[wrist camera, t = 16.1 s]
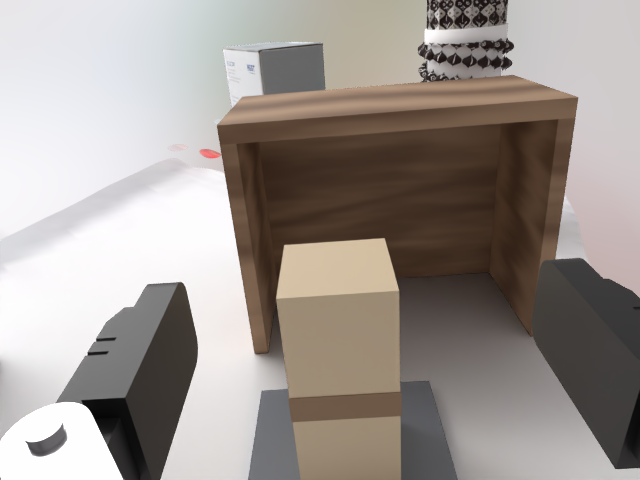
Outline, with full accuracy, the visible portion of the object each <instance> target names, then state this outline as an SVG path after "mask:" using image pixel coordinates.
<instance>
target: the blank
mask: <svg viewBox="0 0 640 480" xmlns="http://www.w3.org/2000/svg"><path fill="white" fill-rule="evenodd" d="M276 302H277V310H278V317H279V324H280V332H281V339H282V347H283V354H284V361H285V369H286V376H287V384H288V391H289V397H288V401H289V408H290V415H291V422H293V428H294V436H295V443H296V450H297V458H298V465H299V473H300V480H401V420H400V416H402V393H401V388H400V315H399V288H398V284H397V281H396V277H395V274H394V270H393V266H392V263H391V259H390V256H389V252H388V249H387V245H386V241H385V238H381V239H366V240H352V241H337V242H323V243H308V244H294V245H284V250H283V257H282V263H281V270H280V276H279V283H278V289H277V296H276Z"/></svg>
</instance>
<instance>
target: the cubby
mask: <svg viewBox="0 0 640 480" xmlns="http://www.w3.org/2000/svg"><path fill="white" fill-rule="evenodd" d="M577 102H578V97H576V96H573V95H570V94H567V93H564V92H561V91H558V90H555V89H552V88H550V87H547V86H544V85H541V84H538V83H535V82H532V81H529V80H526V79H523V78H520V77H517V76H514V75H509V76H495V77H483V78H470V79H458V80H445V81H433V82H420V83H408V84H395V85H382V86H370V87H357V88H345V89H332V90H320V91H307V92H295V93H282V94H269V95H257V96H244V97H242V98H241V99H240V100H239V101H238V102H237V103H236V104H235V106H234V107H233V108H232V109H231V110H230V111H229V112H228V114H227V115H226V116H225V117H224V118H223V119H222V120H221V121H220V123H219V124H218V125H217V129H218V135H219V141H220V147H221V153H222V159H223V165H224V171H225V177H226V183H227V189H228V196H229V202H230V208H231V214H232V220H233V226H234V232H235V238H236V244H237V250H238V256H239V262H240V268H241V274H242V280H243V286H244V292H245V298H246V304H247V310H248V316H249V322H250V328H251V334H252V340H253V346H254V352H255V353H268V349H269V342H270V335H271V329H272V322H273V316H274V309H275V302H276V296H277V289H278V283H279V276H280V270H281V263H282V257H283V250H284V245H294V244H308V243H323V242H337V241H352V240H366V239H381V238H385V241H386V245H387V249H388V252H389V256H390V259H391V263H392V266H393V270H394V274H395V277H396V278H409V277H424V276H439V275H454V274H469V273H484V272H489V273H490V274H491V276H492V277H493V279H494V280H495V282H496V283H497V285H498V287H499V288H500V290H501V291H502V293H503V294H504V296H505V297H506V299H507V301H508V302H509V304H510V305H511V307H512V308H513V310H514V311H515V313H516V315H517V316H518V318H519V319H520V321H521V322H522V324H523V325H524V327H525V329H526V330H527V332H528V333H529V335H530V336H533V331H532V314H533V308H534V301H535V295H536V288H537V282H538V276H539V270H540V266H541V264H542V263H543V262H544V261H545V260H555V256H556V249H557V242H558V235H559V228H560V221H561V214H562V207H563V200H564V193H565V187H566V180H567V172H568V165H569V158H570V152H571V145H572V138H573V131H574V124H575V117H576V110H577Z"/></svg>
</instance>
